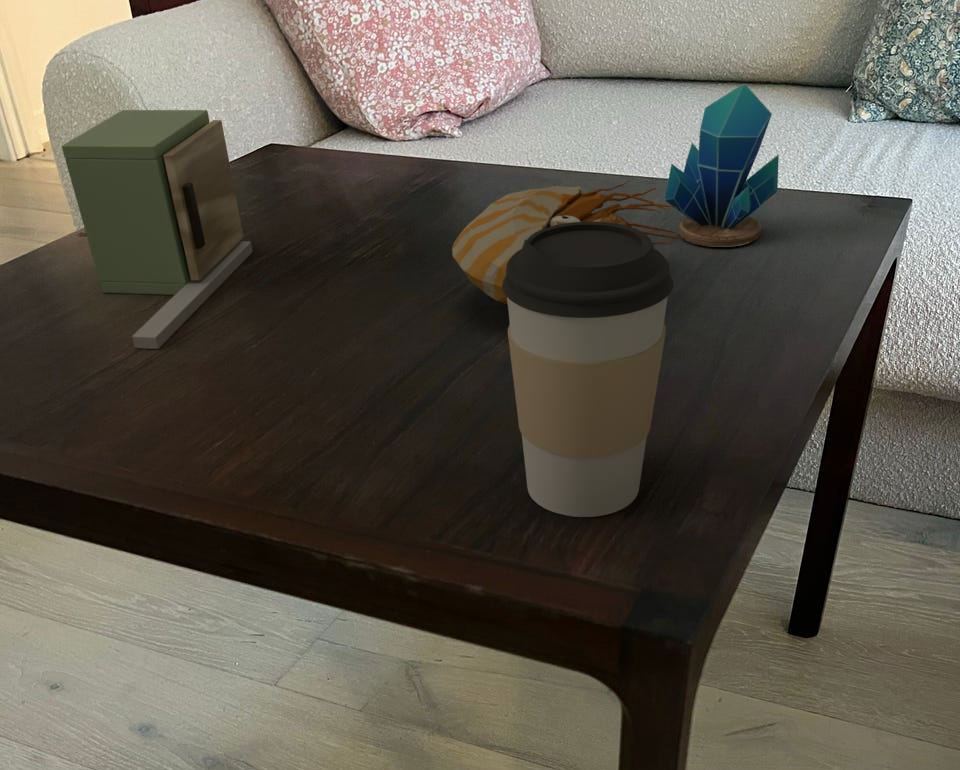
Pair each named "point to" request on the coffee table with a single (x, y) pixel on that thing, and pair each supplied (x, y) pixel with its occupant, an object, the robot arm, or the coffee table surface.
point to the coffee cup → (586, 360)
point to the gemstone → (724, 173)
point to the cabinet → (141, 214)
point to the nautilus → (531, 228)
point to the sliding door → (204, 198)
